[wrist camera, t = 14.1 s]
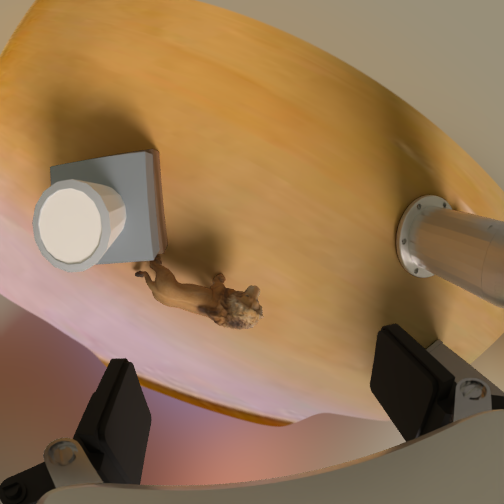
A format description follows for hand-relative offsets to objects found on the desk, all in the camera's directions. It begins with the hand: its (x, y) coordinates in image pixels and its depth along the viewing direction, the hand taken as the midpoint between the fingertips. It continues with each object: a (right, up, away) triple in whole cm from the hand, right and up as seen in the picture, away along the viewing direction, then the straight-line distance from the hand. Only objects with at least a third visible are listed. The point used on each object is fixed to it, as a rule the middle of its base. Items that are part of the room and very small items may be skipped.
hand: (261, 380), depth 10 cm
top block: (-15, +9, +19) cm, 26 cm away
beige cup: (-15, +8, +15) cm, 23 cm away
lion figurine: (-7, +1, +27) cm, 27 cm away
